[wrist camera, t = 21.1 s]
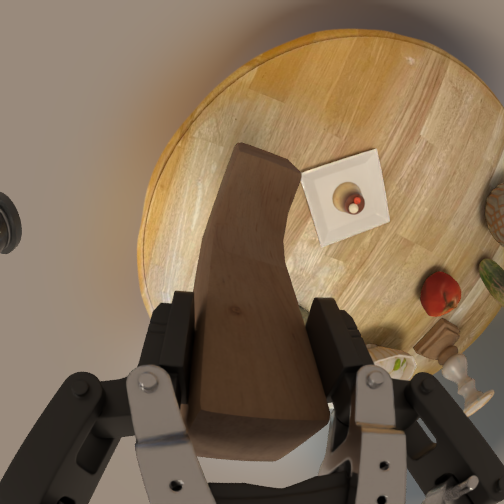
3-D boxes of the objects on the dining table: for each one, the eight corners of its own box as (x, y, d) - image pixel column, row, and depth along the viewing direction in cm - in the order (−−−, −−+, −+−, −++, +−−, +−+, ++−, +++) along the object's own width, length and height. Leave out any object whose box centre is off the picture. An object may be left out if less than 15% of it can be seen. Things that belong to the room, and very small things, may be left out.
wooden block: (236, 140, 20) (260, 280, 4) (291, 160, 21) (434, 323, 5) (201, 240, 24) (173, 455, 8) (250, 254, 25) (278, 463, 9)
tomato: (440, 297, 51) (458, 320, 44) (409, 305, 51) (426, 330, 44) (452, 262, 47) (473, 284, 40) (419, 268, 47) (441, 292, 40)
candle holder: (412, 348, 59) (451, 423, 39) (441, 317, 55) (489, 390, 34) (431, 354, 62) (466, 420, 42) (457, 326, 58) (500, 391, 37)
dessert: (373, 147, 35) (389, 153, 31) (386, 218, 41) (401, 232, 37) (296, 172, 37) (305, 181, 33) (319, 244, 42) (328, 260, 38)
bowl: (414, 322, 54) (434, 354, 46) (379, 375, 64) (391, 405, 55) (343, 323, 52) (360, 362, 43) (313, 380, 61) (322, 415, 52)
